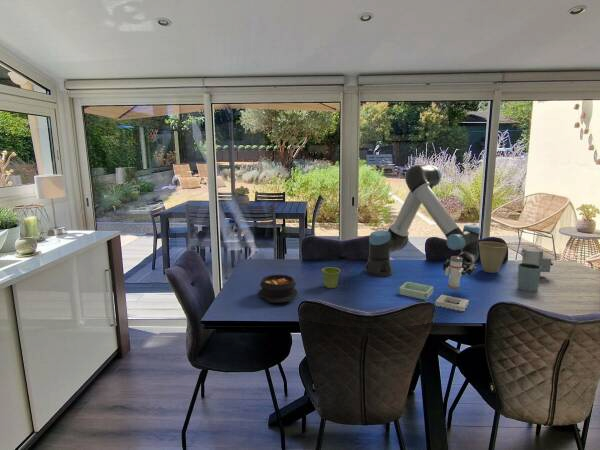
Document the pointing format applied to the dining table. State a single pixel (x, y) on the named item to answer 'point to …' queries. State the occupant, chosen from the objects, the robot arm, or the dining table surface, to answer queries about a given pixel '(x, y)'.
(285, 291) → the casserole
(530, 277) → the teal cylinder
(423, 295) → the parts tray
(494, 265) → the plant pot
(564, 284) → the dining table surface
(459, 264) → the fuse
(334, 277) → the plant pot
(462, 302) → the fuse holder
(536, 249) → the circuit breaker
